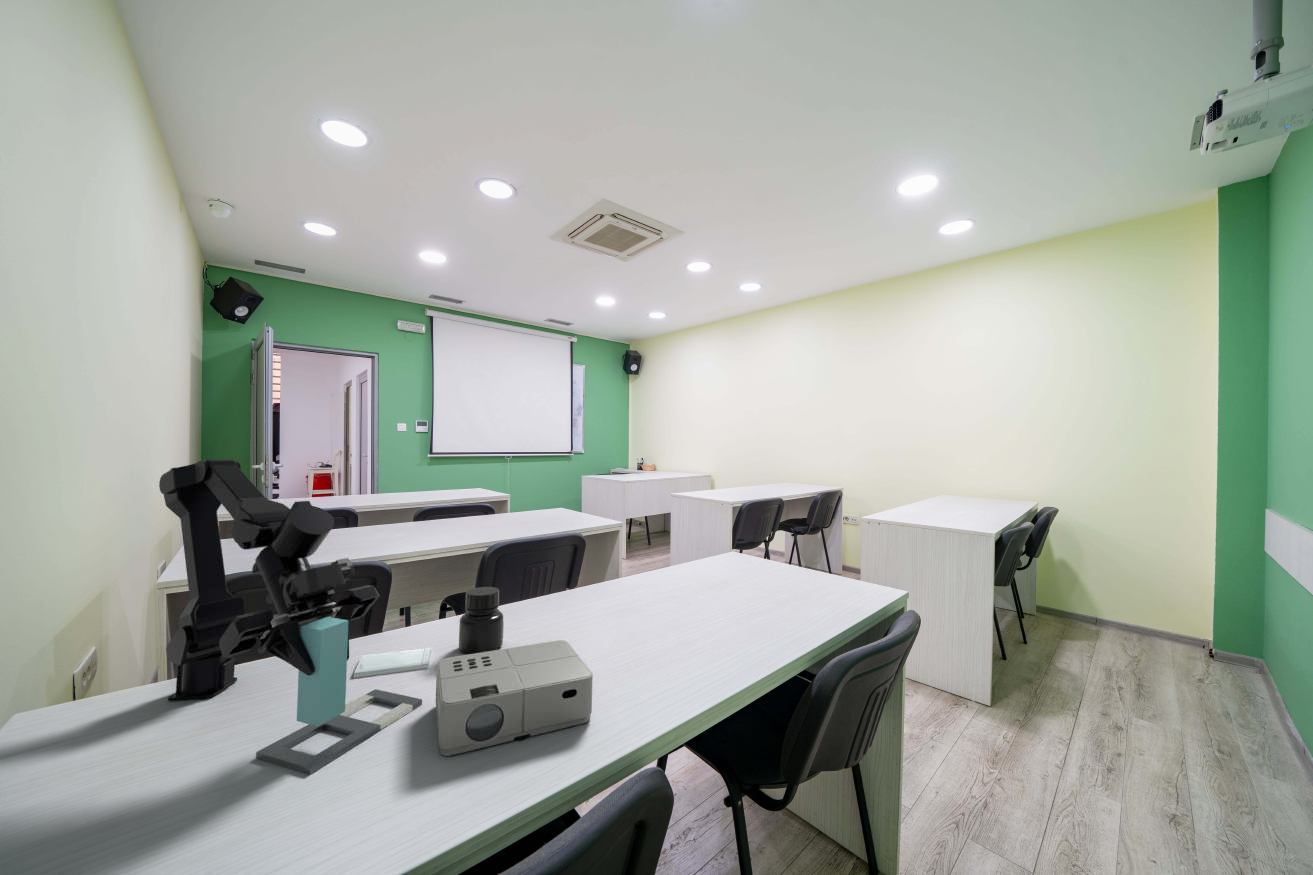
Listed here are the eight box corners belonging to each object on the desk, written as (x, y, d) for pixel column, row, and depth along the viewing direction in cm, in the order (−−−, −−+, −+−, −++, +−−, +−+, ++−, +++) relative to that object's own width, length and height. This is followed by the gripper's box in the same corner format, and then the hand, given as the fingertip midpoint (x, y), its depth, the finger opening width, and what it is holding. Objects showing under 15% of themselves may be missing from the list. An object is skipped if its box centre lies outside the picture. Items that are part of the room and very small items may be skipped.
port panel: (310, 774, 61) (310, 768, 61) (255, 757, 64) (256, 751, 64) (421, 704, 78) (422, 699, 79) (375, 693, 82) (375, 689, 82)
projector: (434, 705, 79) (436, 657, 79) (564, 680, 89) (566, 637, 89) (438, 764, 64) (441, 705, 64) (594, 725, 74) (595, 674, 74)
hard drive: (353, 672, 87) (428, 662, 92) (362, 654, 95) (431, 645, 99) (353, 681, 87) (428, 670, 92) (362, 663, 95) (431, 654, 99)
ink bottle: (509, 639, 107) (511, 585, 107) (497, 656, 98) (499, 597, 98) (465, 639, 106) (467, 585, 107) (449, 656, 97) (451, 596, 98)
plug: (296, 720, 66) (300, 626, 66) (324, 706, 70) (328, 616, 70) (317, 726, 65) (321, 629, 65) (344, 711, 69) (348, 620, 69)
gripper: (235, 554, 62) (278, 658, 56) (374, 534, 78) (417, 613, 73) (202, 606, 65) (239, 709, 59) (343, 576, 81) (382, 655, 76)
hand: (329, 666), depth 67 cm, fingers closed on plug, 4 cm apart
